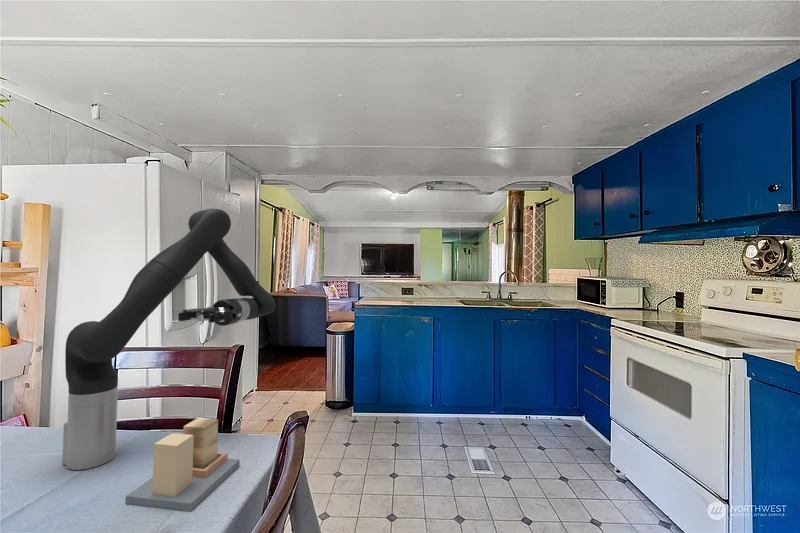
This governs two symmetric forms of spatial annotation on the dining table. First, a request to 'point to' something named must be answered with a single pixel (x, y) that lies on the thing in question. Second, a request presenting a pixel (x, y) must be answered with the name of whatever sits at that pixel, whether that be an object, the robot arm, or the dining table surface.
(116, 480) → the dining table surface
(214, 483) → the base board
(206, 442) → the maple pillar
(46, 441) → the dining table surface
